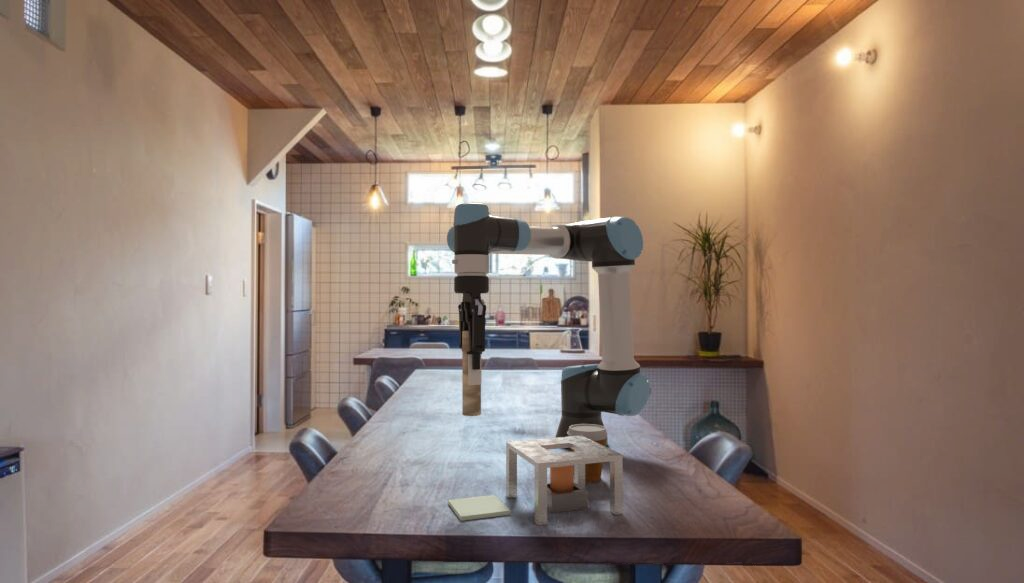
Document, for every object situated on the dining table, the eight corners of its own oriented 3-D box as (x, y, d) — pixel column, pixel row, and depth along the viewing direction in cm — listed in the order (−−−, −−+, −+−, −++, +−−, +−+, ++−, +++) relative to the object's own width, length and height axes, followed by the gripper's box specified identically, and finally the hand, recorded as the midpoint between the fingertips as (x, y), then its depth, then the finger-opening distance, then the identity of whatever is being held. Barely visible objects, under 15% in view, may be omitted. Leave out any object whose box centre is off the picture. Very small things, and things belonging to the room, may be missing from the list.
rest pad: (494, 498, 126) (494, 494, 126) (510, 514, 117) (510, 510, 117) (448, 503, 123) (448, 500, 123) (460, 520, 113) (460, 516, 113)
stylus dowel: (477, 411, 131) (477, 330, 132) (483, 415, 128) (483, 331, 128) (460, 413, 130) (460, 330, 130) (465, 416, 126) (465, 331, 126)
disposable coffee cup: (610, 475, 143) (610, 425, 143) (603, 486, 134) (603, 433, 134) (572, 471, 146) (572, 422, 146) (562, 482, 137) (562, 430, 137)
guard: (581, 486, 134) (581, 435, 134) (622, 513, 117) (622, 454, 117) (506, 495, 128) (506, 441, 128) (538, 525, 111) (538, 463, 111)
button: (567, 484, 126) (567, 456, 126) (577, 491, 121) (577, 462, 121) (546, 487, 124) (546, 458, 124) (556, 494, 120) (556, 464, 120)
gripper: (445, 276, 136) (445, 379, 136) (465, 273, 120) (465, 389, 120) (476, 276, 138) (477, 377, 138) (500, 273, 122) (500, 387, 122)
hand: (471, 383), depth 129 cm, fingers closed on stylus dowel, 4 cm apart
